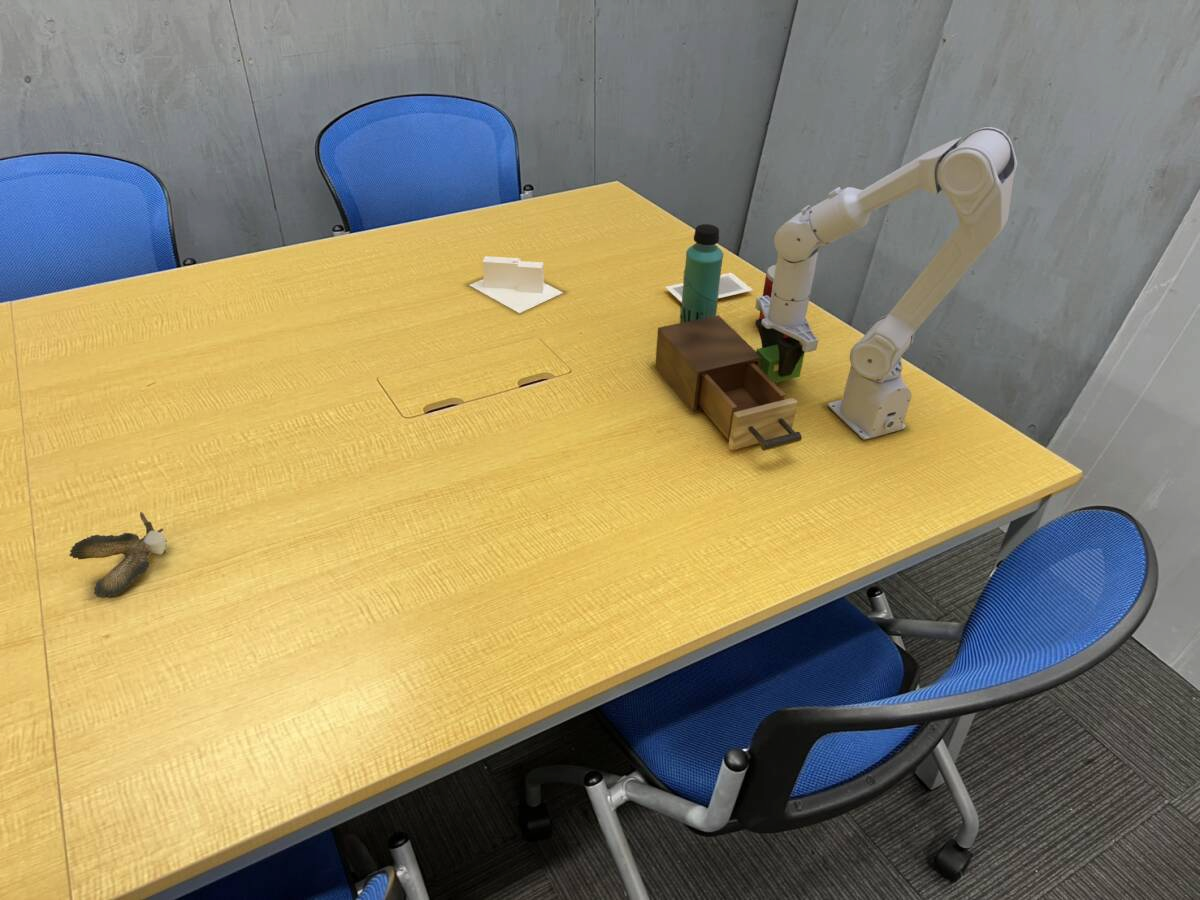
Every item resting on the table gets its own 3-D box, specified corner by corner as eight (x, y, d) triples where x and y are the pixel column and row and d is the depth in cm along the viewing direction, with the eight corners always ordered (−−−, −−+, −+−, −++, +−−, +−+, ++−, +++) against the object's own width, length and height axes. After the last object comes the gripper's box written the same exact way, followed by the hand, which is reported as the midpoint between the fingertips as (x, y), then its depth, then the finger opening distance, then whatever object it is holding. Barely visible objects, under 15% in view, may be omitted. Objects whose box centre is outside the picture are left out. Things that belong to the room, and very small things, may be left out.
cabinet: (754, 397, 129) (761, 357, 124) (692, 413, 125) (697, 372, 120) (713, 354, 139) (718, 314, 134) (655, 367, 135) (657, 327, 130)
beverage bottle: (714, 324, 146) (727, 220, 133) (714, 344, 141) (728, 237, 128) (678, 322, 146) (687, 217, 134) (677, 341, 141) (687, 235, 129)
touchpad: (752, 295, 155) (754, 285, 153) (684, 310, 150) (685, 300, 148) (730, 277, 160) (731, 267, 159) (664, 292, 155) (665, 281, 154)
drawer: (809, 454, 117) (817, 421, 113) (749, 470, 114) (755, 437, 110) (746, 388, 129) (752, 356, 125) (691, 401, 126) (695, 369, 122)
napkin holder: (468, 285, 156) (465, 258, 152) (511, 266, 162) (510, 239, 159) (520, 313, 148) (518, 285, 144) (564, 292, 154) (563, 265, 151)
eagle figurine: (136, 526, 103) (63, 560, 96) (146, 499, 98) (71, 533, 92) (172, 572, 103) (102, 609, 96) (185, 547, 98) (112, 584, 91)
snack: (799, 376, 131) (804, 353, 128) (765, 385, 129) (769, 361, 126) (786, 364, 134) (790, 341, 131) (752, 372, 132) (756, 348, 129)
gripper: (743, 275, 126) (733, 349, 135) (795, 319, 116) (780, 396, 124) (782, 268, 128) (769, 341, 137) (836, 310, 118) (818, 387, 126)
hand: (777, 367), depth 131 cm, fingers closed on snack, 4 cm apart
